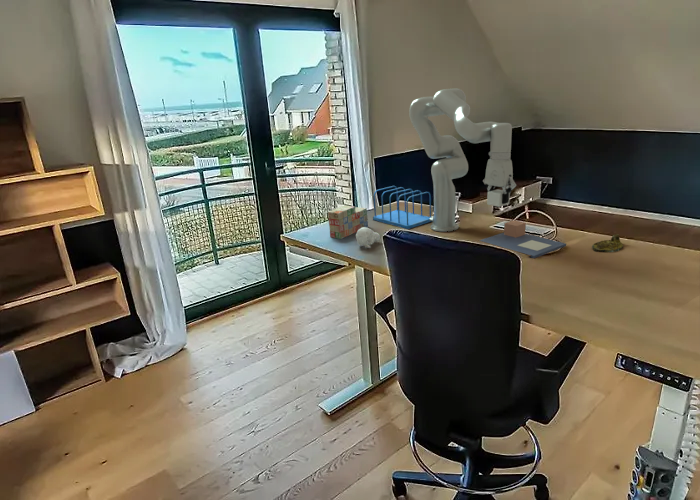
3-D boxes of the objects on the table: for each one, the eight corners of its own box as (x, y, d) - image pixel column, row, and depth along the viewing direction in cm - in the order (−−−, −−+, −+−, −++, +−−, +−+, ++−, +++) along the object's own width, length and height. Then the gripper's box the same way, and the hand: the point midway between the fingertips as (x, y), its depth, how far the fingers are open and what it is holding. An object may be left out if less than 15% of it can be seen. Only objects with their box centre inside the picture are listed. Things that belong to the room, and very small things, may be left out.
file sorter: (372, 220, 238) (371, 190, 233) (397, 213, 248) (396, 184, 243) (407, 229, 219) (407, 197, 214) (433, 221, 229) (433, 190, 224)
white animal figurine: (354, 227, 197) (372, 223, 205) (354, 247, 199) (372, 242, 207) (365, 229, 192) (384, 225, 201) (365, 250, 195) (383, 244, 203)
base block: (487, 204, 189) (487, 191, 187) (497, 201, 192) (497, 189, 190) (499, 206, 184) (499, 194, 182) (509, 203, 187) (509, 191, 185)
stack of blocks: (357, 225, 231) (356, 200, 227) (368, 226, 228) (366, 202, 224) (329, 237, 216) (327, 211, 212) (340, 239, 212) (338, 212, 208)
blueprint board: (479, 242, 195) (479, 240, 194) (510, 232, 205) (510, 229, 204) (533, 258, 174) (533, 255, 173) (565, 246, 184) (566, 243, 184)
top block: (503, 234, 199) (504, 223, 198) (513, 231, 202) (513, 220, 201) (515, 237, 194) (516, 226, 193) (525, 234, 198) (525, 223, 196)
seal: (608, 258, 173) (629, 248, 181) (611, 246, 171) (632, 236, 179) (584, 249, 180) (605, 240, 188) (587, 238, 178) (607, 229, 186)
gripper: (476, 155, 187) (475, 200, 193) (512, 159, 173) (509, 207, 179) (489, 153, 190) (487, 196, 196) (525, 156, 177) (522, 203, 183)
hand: (498, 201), depth 188 cm, fingers closed on base block, 6 cm apart
